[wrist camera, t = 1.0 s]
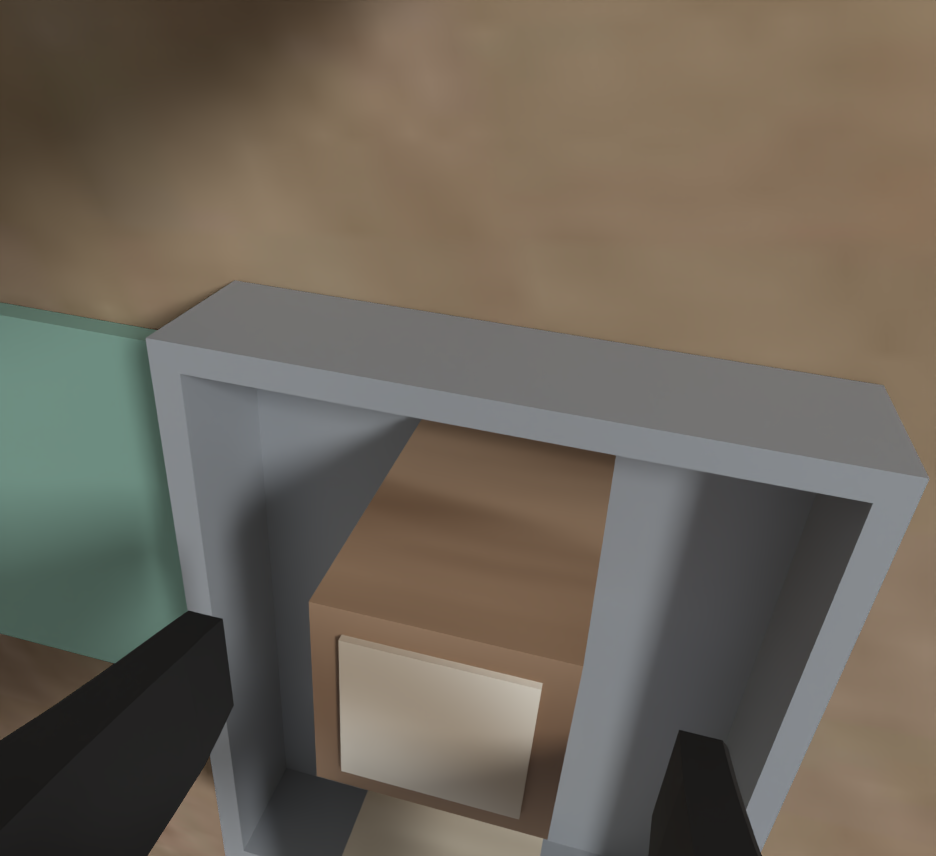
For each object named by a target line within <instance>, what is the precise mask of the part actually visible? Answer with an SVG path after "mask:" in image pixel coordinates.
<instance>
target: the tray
mask: <svg viewBox="0 0 936 856" xmlns="http://www.w3.org/2000/svg"><path fill="white" fill-rule="evenodd" d="M146 345H147V351H148V358H149V364H150V371H151V377H152V384H153V390H154V397H155V403H156V409H157V416H158V422H159V429H160V435H161V442H162V448H163V455H164V461H165V468H166V474H167V481H168V487H169V494H170V500H171V506H172V513H173V519H174V526H175V532H176V539H177V545H178V552H179V558H180V565H181V571H182V578H183V584H184V591H185V597H186V603H187V610H188V611H193V612H197V613H201V614H205V615H209V616H213V617H218V618H222V619H223V624H224V632H225V639H226V647H227V655H228V663H229V671H230V679H231V686H232V694H233V702H234V706H233V708H232V710H231V712H230V715H229V717H228V719H227V721H226V723H225V725H224V727H223V729H222V732H221V734H220V736H219V738H218V740H217V742H216V744H215V746H214V748H213V750H212V752H211V754H210V759H211V765H212V772H213V778H214V784H215V791H216V797H217V804H218V810H219V817H220V823H221V830H222V836H223V843H224V849H225V856H342V854H343V852H344V849H345V847H346V844H347V842H348V839H349V837H350V834H351V832H352V829H353V827H354V824H355V822H356V819H357V817H358V814H359V812H360V809H361V807H362V804H363V802H364V799H365V797H366V794H367V792H368V790H366V789H362V788H359V787H355V786H351V785H348V784H344V783H341V782H337V781H333V780H330V779H326V778H323V777H319V776H317V770H316V748H315V727H314V705H313V684H312V663H311V641H310V620H309V600H310V599H311V597H312V596H313V594H314V592H315V591H316V589H317V587H318V586H319V584H320V583H321V581H322V579H323V578H324V576H325V575H326V573H327V571H328V570H329V568H330V566H331V565H332V563H333V562H334V560H335V558H336V557H337V555H338V554H339V552H340V550H341V549H342V547H343V545H344V544H345V542H346V541H347V539H348V537H349V536H350V534H351V533H352V531H353V529H354V528H355V526H356V524H357V523H358V521H359V520H360V518H361V516H362V515H363V513H364V512H365V510H366V508H367V507H368V505H369V503H370V502H371V500H372V499H373V497H374V495H375V494H376V492H377V491H378V489H379V487H380V486H381V484H382V482H383V481H384V479H385V478H386V476H387V474H388V473H389V471H390V470H391V468H392V466H393V465H394V463H395V461H396V460H397V458H398V457H399V455H400V453H401V452H402V450H403V449H404V447H405V445H406V444H407V442H408V440H409V439H410V437H411V436H412V434H413V432H414V431H415V429H416V428H417V426H418V424H419V423H420V421H421V419H424V420H430V421H435V422H440V423H446V424H451V425H456V426H462V427H467V428H472V429H478V430H483V431H488V432H494V433H499V434H504V435H510V436H515V437H521V438H526V439H531V440H537V441H542V442H547V443H553V444H558V445H563V446H569V447H574V448H579V449H585V450H590V451H595V452H601V453H606V454H612V455H616V459H615V465H614V472H613V478H612V485H611V491H610V498H609V504H608V511H607V517H606V523H605V530H604V536H603V543H602V549H601V556H600V562H599V569H598V575H597V581H596V588H595V594H594V601H593V607H592V614H591V620H590V627H589V633H588V639H587V646H586V652H585V659H584V665H583V670H582V675H581V680H580V685H579V690H578V695H577V699H576V704H575V709H574V714H573V719H572V724H571V728H570V733H569V738H568V743H567V748H566V753H565V757H564V762H563V767H562V772H561V777H560V781H559V786H558V791H557V796H556V801H555V806H554V810H553V815H552V820H551V825H550V830H549V835H548V839H547V840H546V839H543V842H542V848H541V854H540V856H648V854H649V843H650V832H651V821H652V814H653V810H654V807H655V804H656V801H657V798H658V795H659V792H660V788H661V785H662V782H663V779H664V776H665V773H666V769H667V766H668V763H669V760H670V757H671V754H672V751H673V747H674V744H675V741H676V738H677V735H678V732H679V730H683V731H687V732H691V733H695V734H699V735H703V736H707V737H711V738H715V739H720V740H723V741H724V743H725V744H726V745H727V747H728V749H729V753H730V757H731V761H732V764H733V768H734V772H735V775H736V779H737V782H738V786H739V789H740V792H741V796H742V799H743V802H744V805H745V808H746V811H747V814H748V817H749V820H750V823H751V826H752V829H753V832H754V835H755V838H756V841H757V844H758V847H759V849H760V852H761V851H762V848H763V846H764V844H765V842H766V840H767V837H768V835H769V833H770V831H771V828H772V826H773V824H774V822H775V820H776V817H777V815H778V813H779V811H780V809H781V806H782V804H783V802H784V800H785V797H786V795H787V793H788V791H789V789H790V786H791V784H792V782H793V780H794V778H795V775H796V773H797V771H798V769H799V766H800V764H801V762H802V760H803V758H804V755H805V753H806V751H807V749H808V746H809V744H810V742H811V740H812V738H813V735H814V733H815V731H816V729H817V727H818V724H819V722H820V720H821V718H822V715H823V713H824V711H825V709H826V707H827V704H828V702H829V700H830V698H831V696H832V693H833V691H834V689H835V687H836V684H837V682H838V680H839V678H840V676H841V673H842V671H843V669H844V667H845V664H846V662H847V660H848V658H849V656H850V653H851V651H852V649H853V647H854V645H855V642H856V640H857V638H858V636H859V633H860V631H861V629H862V627H863V625H864V622H865V620H866V618H867V616H868V614H869V611H870V609H871V607H872V605H873V602H874V600H875V598H876V596H877V594H878V591H879V589H880V587H881V585H882V583H883V580H884V578H885V576H886V574H887V571H888V569H889V567H890V565H891V563H892V560H893V558H894V556H895V554H896V551H897V549H898V547H899V545H900V543H901V540H902V538H903V536H904V534H905V532H906V529H907V527H908V525H909V523H910V520H911V518H912V516H913V514H914V512H915V509H916V507H917V505H918V503H919V501H920V498H921V496H922V494H923V492H924V489H925V487H926V485H927V483H928V481H929V477H928V475H927V473H926V471H925V469H924V467H923V465H922V463H921V461H920V459H919V457H918V455H917V452H916V450H915V448H914V446H913V444H912V442H911V440H910V438H909V436H908V434H907V432H906V430H905V428H904V426H903V424H902V422H901V420H900V418H899V416H898V414H897V412H896V410H895V408H894V406H893V404H892V402H891V399H890V397H889V395H888V393H887V391H886V389H885V387H884V385H878V384H872V383H866V382H860V381H853V380H847V379H841V378H835V377H829V376H822V375H816V374H810V373H804V372H798V371H791V370H785V369H779V368H773V367H767V366H761V365H754V364H748V363H742V362H736V361H730V360H723V359H717V358H711V357H705V356H699V355H692V354H686V353H680V352H674V351H668V350H661V349H655V348H649V347H643V346H637V345H631V344H624V343H618V342H612V341H606V340H600V339H593V338H587V337H581V336H575V335H569V334H562V333H556V332H550V331H544V330H538V329H532V328H525V327H519V326H513V325H507V324H501V323H494V322H488V321H482V320H476V319H470V318H463V317H457V316H451V315H445V314H439V313H433V312H426V311H420V310H414V309H408V308H402V307H395V306H389V305H383V304H377V303H371V302H364V301H358V300H352V299H346V298H340V297H334V296H327V295H321V294H315V293H309V292H303V291H296V290H290V289H284V288H278V287H272V286H265V285H259V284H253V283H247V282H241V281H233V282H232V283H230V284H228V285H227V286H225V287H224V288H222V289H221V290H219V291H218V292H216V293H214V294H213V295H211V296H210V297H208V298H207V299H205V300H204V301H202V302H200V303H199V304H197V305H196V306H194V307H193V308H191V309H190V310H188V311H187V312H185V313H183V314H182V315H180V316H179V317H177V318H176V319H174V320H173V321H171V322H169V323H168V324H166V325H165V326H163V327H162V328H160V329H159V330H157V331H155V332H154V333H152V334H151V335H149V336H148V337H146Z"/></svg>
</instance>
